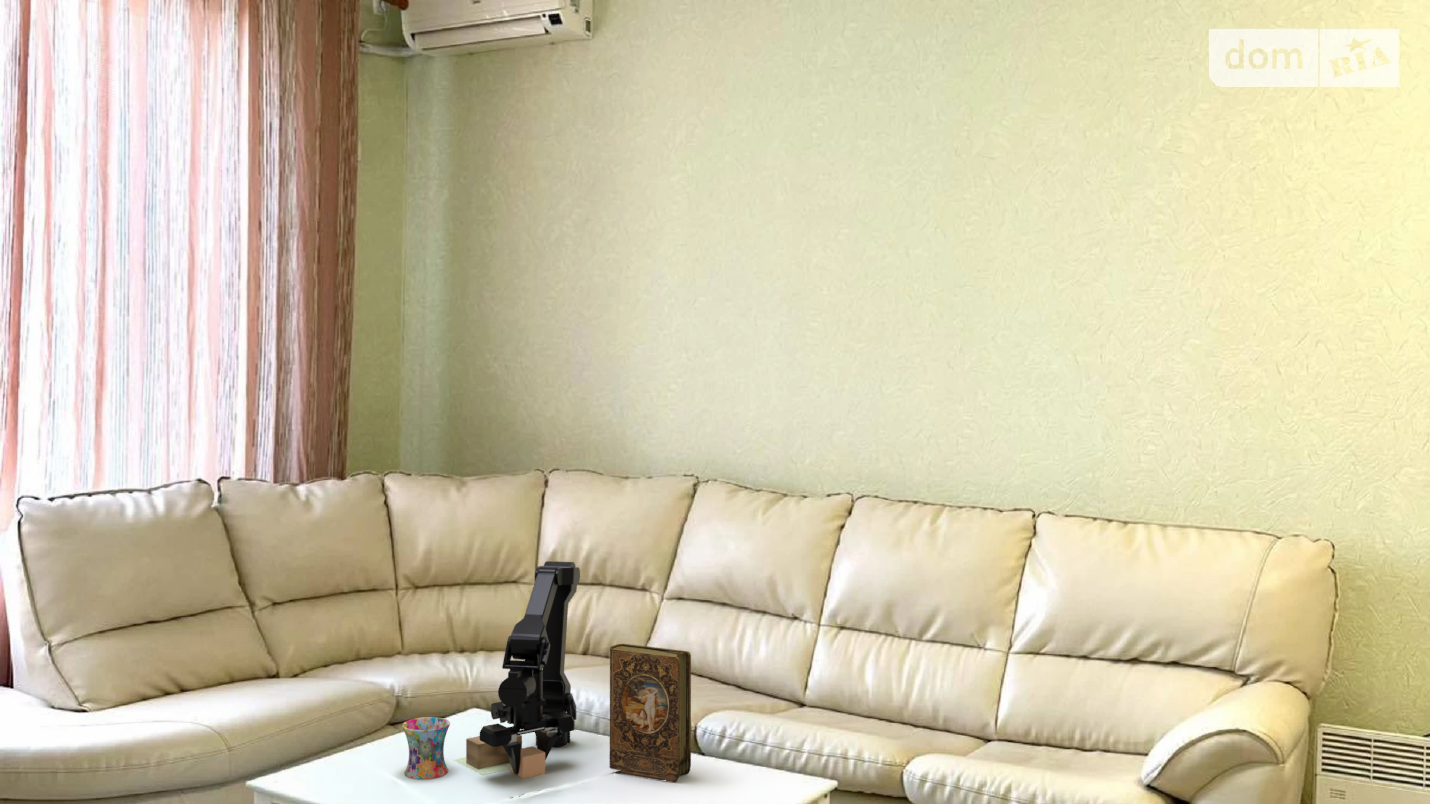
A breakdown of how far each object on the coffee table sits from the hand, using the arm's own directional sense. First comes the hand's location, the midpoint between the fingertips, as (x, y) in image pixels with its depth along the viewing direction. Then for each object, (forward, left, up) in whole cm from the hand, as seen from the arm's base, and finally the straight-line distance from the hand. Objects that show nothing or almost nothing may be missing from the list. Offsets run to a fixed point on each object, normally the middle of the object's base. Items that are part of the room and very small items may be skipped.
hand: (527, 771), depth 262 cm
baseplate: (+2, -10, -1) cm, 10 cm away
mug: (+15, -13, -1) cm, 20 cm away
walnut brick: (+2, -10, 0) cm, 10 cm away
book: (-20, +13, -1) cm, 24 cm away
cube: (0, 0, -1) cm, 1 cm away
